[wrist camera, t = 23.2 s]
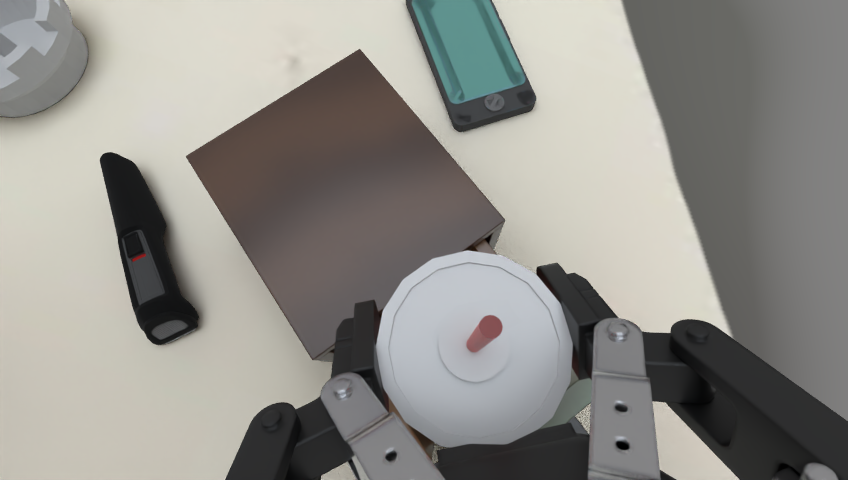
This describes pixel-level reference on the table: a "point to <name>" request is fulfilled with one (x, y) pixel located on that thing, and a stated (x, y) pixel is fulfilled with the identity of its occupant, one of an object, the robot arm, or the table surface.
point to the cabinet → (340, 197)
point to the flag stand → (38, 55)
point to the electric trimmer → (145, 254)
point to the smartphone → (472, 61)
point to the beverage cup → (474, 350)
